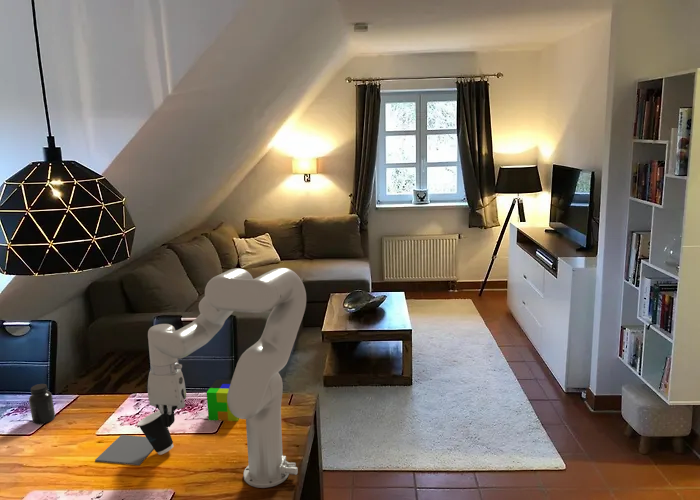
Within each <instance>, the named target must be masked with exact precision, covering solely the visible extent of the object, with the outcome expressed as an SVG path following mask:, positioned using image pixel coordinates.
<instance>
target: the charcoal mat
mask: <svg viewBox="0 0 700 500" xmlns="http://www.w3.org/2000/svg"><path fill="white" fill-rule="evenodd" d="M153 451H155V450H154V448H153V447H152V445H151V444H150V442H149V441H148V439H147V438H146V436H140V435H139V436H138V435H127V434H121V435H119V437H118V438H116V439H115V440H114V441H113V442H112V443H111V444H110V445H109V446H108V447H107V448H106V449H105V450H104V451H102V452H101V453H100V454H99V455H98V456H97V458H96V459H95V462H97V463H98V462H100V463H108V464H109V463H111V464H121V465H131V466H132V465H133V466H140V465H141V464H142V463H143V462H144V461H145V460H146V459H147V457H149V455H150V454H152V452H153Z"/></svg>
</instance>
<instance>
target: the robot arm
mask: <svg viewBox="0 0 700 500" xmlns="http://www.w3.org/2000/svg"><path fill="white" fill-rule="evenodd" d="M253 277H254V276H252V274H251V273H250V272H249V271H248V270H246V269H244V268H239V267H238V268H237V267H236V268H235V267H234V268H231V269H228V270H226V271H224V272H222V273H220V274H218V275H215V276H214V277H212V278H210V280H208V282H207V283H206V286H205V288H204V296H203V297H202V298H201V300H200V301H199V303H198V311H199V314H198V316H197V317H196V318H195V319H194V320H193V321H192V322H190V323H188V324H186V325H184V326H183V327H181V328H179V329H176V328H175V326H173V325H172V324H169V323H159V324H155V325H153V326H150V327H149V329H148V331H147V339H148V340H147V341H148V351H149V363H150V364H149V365H150V371H149V372H148V377H147V378H148V379H147V397H148V398H147V399H148V401H149V406H152V407H154V408H156V409H158V411H160V413H161V414H162V418H163V422H164V427H166V426H167V427H168V428H170V427H171V426H172V425H173V424H174V423H175V420H176V418H175V411H176V410H180V409H184V408H185V407H186V402H185V400H186V399H187V390H186V383H185V378H184V375H183V372H182V368H183V364H182V363H179V359H183V358H184V359H185V358H186V357H187V356H189V355H191V354H192V353H194V352H196V351H197V350H199V349H200V348H202V347H203V346H205V345H207V344H208V343H209V342H210V341H211V340H212V339H213V338H214V337H215V336H216V334H218V332H220V330H221V329H222V328H223V327H224V325H225V322H226V320H227V319H228V318H229V317H230V316H231V315H232V314H233V313H234V312H237V313H239V312H240V313H252V314H253V313H254V314H255V313H258V314H259V313H265V312H268V311H271V312H270V313H269V315H268V317H267V319H266V322H265V326H264V329H263V332H262V334H261V336H260V338H259V339H258V341H256V342H255V343H254V344H252V345H251V346H250V347H248V348H246V350H244V352H243V353H242V354H241V355H240V356H239V359H238V361H237V363H236V367H235V369H234V372H233V375H232V378H231V380H232V381H231V384H230V387H229V390H228V395H227V403H228V407H229V409H230V411H231V413H232V414H233V415H234V416H236V417H237V418H239V420H240V419H241V420H245V426H246V430H245V431H246V441H247V442H246V443H247V458H248V461H247V462H248V465H247V466H246V468H244V470H243V480H244V482H245V483H246V484H248V485H249V486H251V487H254V488H261V489H265V488H273V487H276V486H279V485H280V484H282V483H283V482H285V481H286V480H287V478H288V477H289V475H298V473H299V471H298V470H299V469H298V468H299V467H297V466H296V464H297V463H296V462H292V461H291V462H289V461H288V460H287V456H286V455H283V434H282V399H283V389H284V388H283V385H284V384H283V378H282V376H281V375H280V373H279V372H280V371H281V370H283V369H284V368H285V366H286V365H287V363H288V361H289V360H290V356H291V352H292V351H293V347H294V345H295V341H296V339H297V335H298V332H299V330H300V326H301V323H302V321H303V317H304V314H305V311H306V308H307V292H306V288H305V285H304V283H303V281H302V279H301V278H300V276H299V275H298V274H297V273H296V272H295V271H294V270H292V269H291V268H287V267H278V268H274V269H271V270H269V271H267V272H265V273H263V274H261V275H259V276H257V277H255V278H253Z"/></svg>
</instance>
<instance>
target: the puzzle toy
mask: <svg viewBox="0 0 700 500" xmlns="http://www.w3.org/2000/svg"><path fill="white" fill-rule="evenodd" d="M231 381H232V379H220V378H219V379H218V378H217V379H215V380H214V381H213V383H212V384H211V386H210V387H209V389H207V391H206V403H207V415H208V421H225V422H239V420H240V418H237V417H236V416H234V415H233V414H232V413H231V411H230V409H229V407H228V403H227V395H228V390H229V387H230V384H231Z"/></svg>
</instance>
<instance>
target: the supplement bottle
mask: <svg viewBox="0 0 700 500" xmlns="http://www.w3.org/2000/svg"><path fill="white" fill-rule="evenodd" d="M30 394H31V395H29V398H28V403H29V408H30V414H31V419H32V422H33V424H35V425H44V424H47V423H50V422H52V421H53V420H54V419H55V417H56V414H55V407H54V400H53V395H52V392H50V391H49V389H48V385H47V384H45V383H40V384H35V385H32V386H31V387H30Z"/></svg>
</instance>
